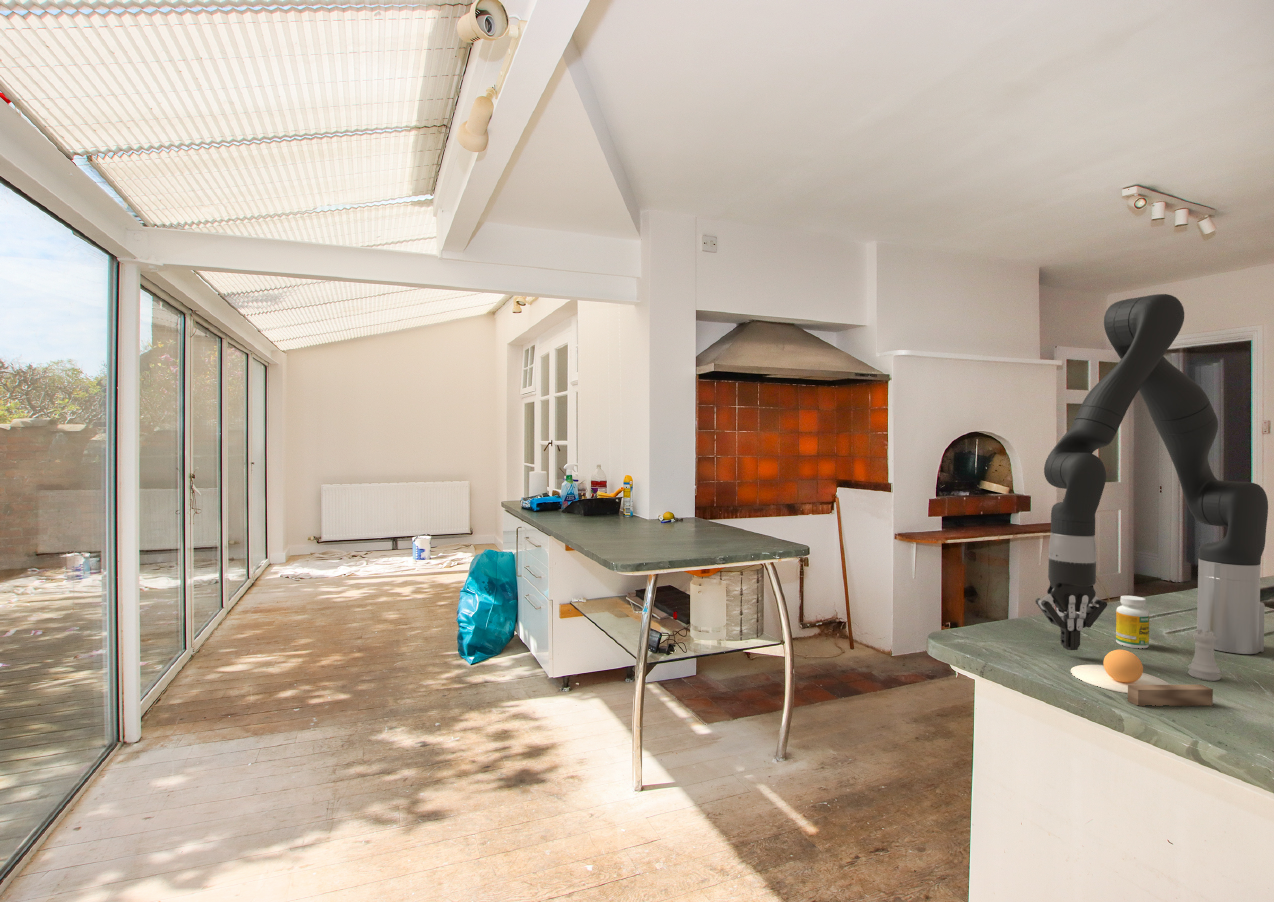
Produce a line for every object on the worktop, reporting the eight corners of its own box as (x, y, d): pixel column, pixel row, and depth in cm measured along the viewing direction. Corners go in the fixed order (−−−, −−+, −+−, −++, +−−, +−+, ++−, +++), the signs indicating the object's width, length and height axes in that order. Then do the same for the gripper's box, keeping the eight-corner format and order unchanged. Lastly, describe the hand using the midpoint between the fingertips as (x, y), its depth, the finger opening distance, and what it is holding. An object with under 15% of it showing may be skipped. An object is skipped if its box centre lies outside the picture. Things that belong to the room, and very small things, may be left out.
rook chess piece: (1213, 674, 115) (1214, 629, 115) (1226, 683, 111) (1227, 636, 111) (1182, 671, 117) (1183, 626, 117) (1194, 679, 113) (1195, 633, 112)
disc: (1126, 665, 119) (1126, 664, 119) (1195, 695, 106) (1195, 693, 106) (1052, 665, 119) (1052, 664, 119) (1111, 695, 105) (1111, 694, 105)
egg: (1139, 688, 111) (1117, 661, 115) (1157, 669, 108) (1134, 642, 112) (1111, 690, 110) (1090, 662, 114) (1129, 670, 107) (1106, 643, 111)
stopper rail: (1200, 700, 103) (1201, 684, 103) (1212, 705, 101) (1212, 689, 101) (1127, 700, 103) (1127, 684, 103) (1137, 705, 101) (1138, 689, 101)
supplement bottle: (1122, 639, 136) (1123, 593, 136) (1153, 646, 131) (1154, 598, 131) (1110, 643, 133) (1111, 596, 133) (1142, 650, 128) (1143, 602, 128)
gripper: (1051, 561, 120) (1049, 655, 120) (1121, 561, 120) (1119, 655, 121) (1025, 554, 127) (1023, 643, 128) (1091, 554, 128) (1089, 642, 128)
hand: (1070, 648), depth 124 cm, fingers closed
